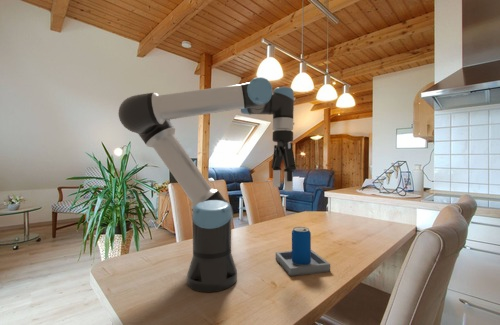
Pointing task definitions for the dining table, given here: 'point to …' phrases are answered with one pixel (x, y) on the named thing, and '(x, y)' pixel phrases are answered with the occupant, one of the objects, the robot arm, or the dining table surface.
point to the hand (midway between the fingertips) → (282, 188)
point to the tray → (294, 270)
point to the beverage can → (301, 246)
